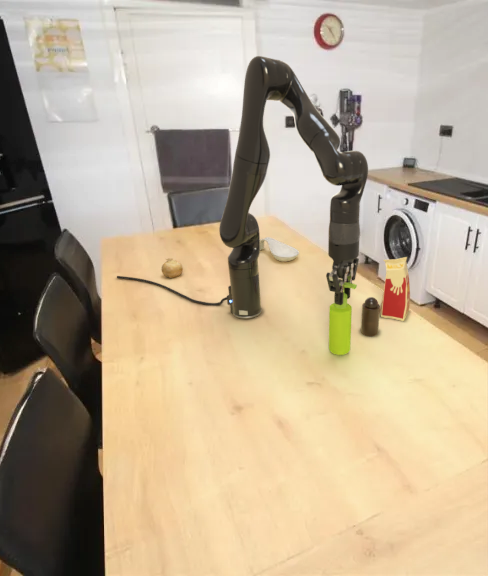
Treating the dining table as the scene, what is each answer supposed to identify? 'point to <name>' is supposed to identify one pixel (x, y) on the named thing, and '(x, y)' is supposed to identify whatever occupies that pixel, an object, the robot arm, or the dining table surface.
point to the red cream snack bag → (396, 290)
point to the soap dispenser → (340, 324)
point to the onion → (171, 268)
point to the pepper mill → (370, 317)
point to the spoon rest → (280, 249)
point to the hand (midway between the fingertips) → (342, 300)
